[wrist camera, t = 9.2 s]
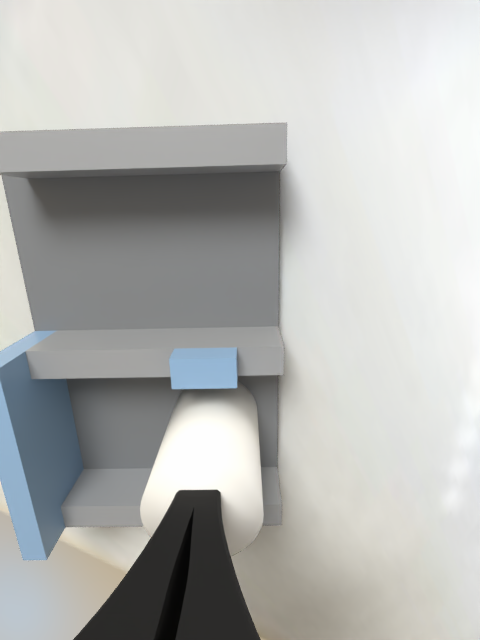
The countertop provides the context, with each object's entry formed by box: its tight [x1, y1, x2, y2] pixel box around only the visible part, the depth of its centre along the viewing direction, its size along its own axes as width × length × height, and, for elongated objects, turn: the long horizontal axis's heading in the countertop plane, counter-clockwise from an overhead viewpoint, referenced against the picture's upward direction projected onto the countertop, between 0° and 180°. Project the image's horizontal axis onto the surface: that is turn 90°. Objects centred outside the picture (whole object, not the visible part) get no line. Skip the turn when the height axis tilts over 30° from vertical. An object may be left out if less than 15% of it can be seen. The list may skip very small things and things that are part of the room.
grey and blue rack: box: [0, 123, 287, 560], centre depth 14 cm, size 11×16×5 cm
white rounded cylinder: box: [140, 382, 264, 556], centre depth 14 cm, size 4×4×6 cm
